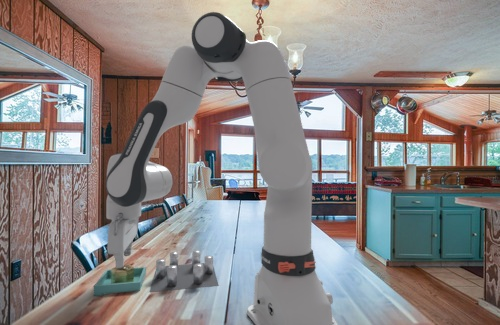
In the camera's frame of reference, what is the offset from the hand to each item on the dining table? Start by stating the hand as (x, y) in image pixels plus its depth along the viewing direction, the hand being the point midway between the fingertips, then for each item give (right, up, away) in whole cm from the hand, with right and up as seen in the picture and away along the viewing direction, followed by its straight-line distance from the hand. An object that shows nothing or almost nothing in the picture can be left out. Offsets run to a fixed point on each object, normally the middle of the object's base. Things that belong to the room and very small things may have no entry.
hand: (124, 260), depth 75 cm
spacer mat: (+15, -7, +6) cm, 18 cm away
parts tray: (-1, -7, 0) cm, 7 cm away
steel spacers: (+15, -7, +6) cm, 18 cm away
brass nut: (-1, -6, 0) cm, 6 cm away
